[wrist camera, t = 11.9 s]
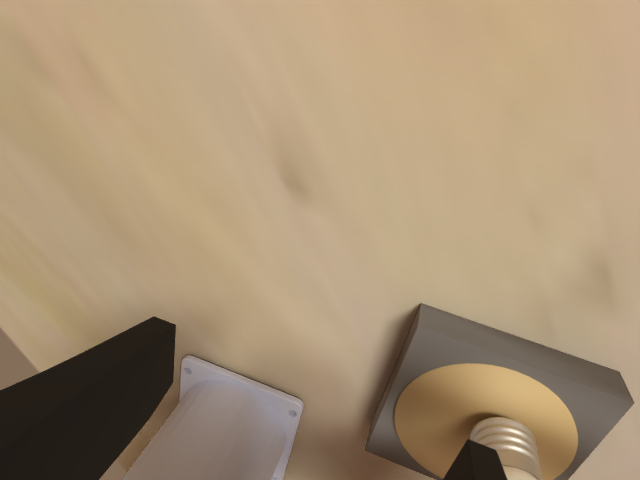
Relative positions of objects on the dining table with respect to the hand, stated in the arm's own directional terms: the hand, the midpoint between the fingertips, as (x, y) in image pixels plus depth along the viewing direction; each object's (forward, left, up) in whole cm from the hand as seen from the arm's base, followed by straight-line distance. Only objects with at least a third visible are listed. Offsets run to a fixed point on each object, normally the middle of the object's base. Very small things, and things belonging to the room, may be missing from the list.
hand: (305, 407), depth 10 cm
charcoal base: (-8, -8, -10) cm, 15 cm away
